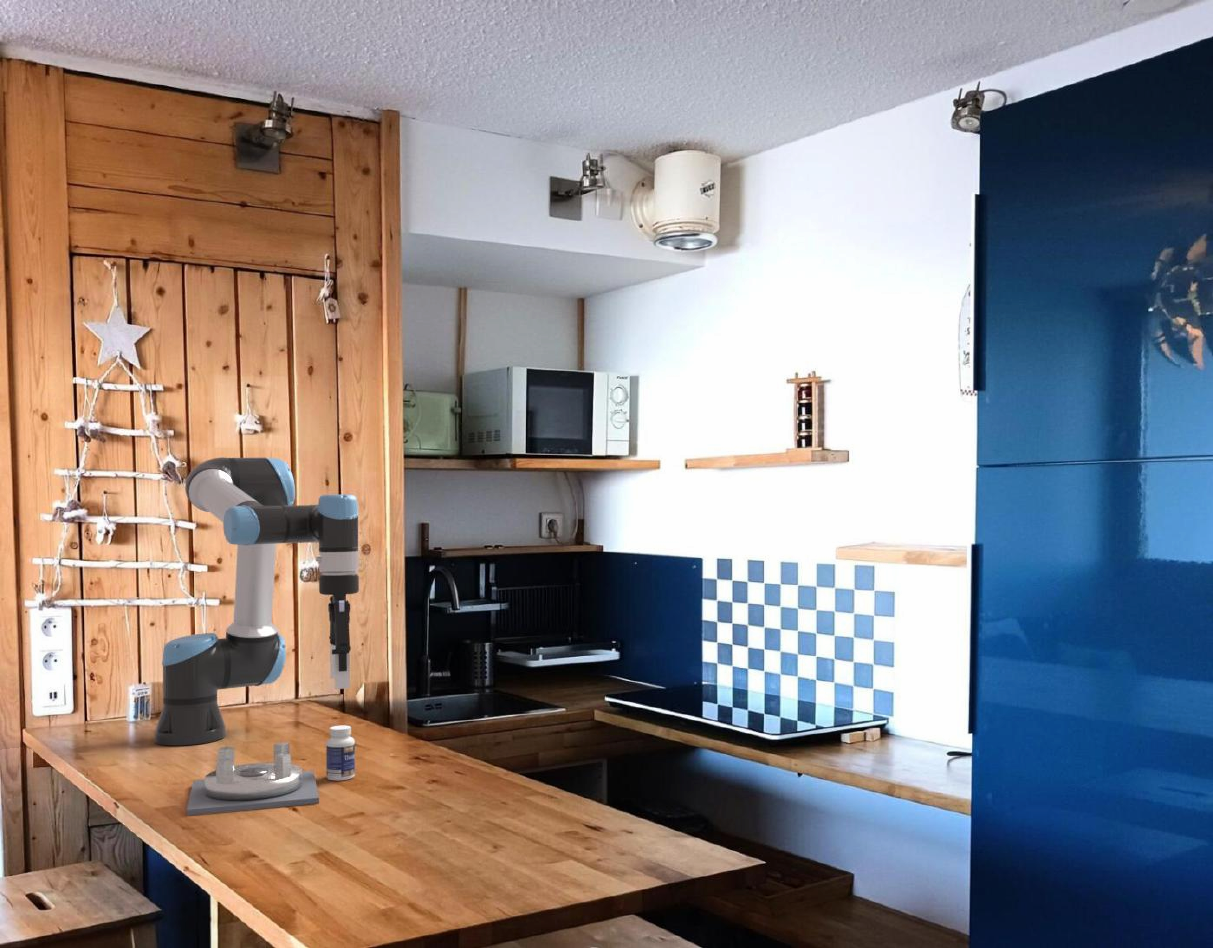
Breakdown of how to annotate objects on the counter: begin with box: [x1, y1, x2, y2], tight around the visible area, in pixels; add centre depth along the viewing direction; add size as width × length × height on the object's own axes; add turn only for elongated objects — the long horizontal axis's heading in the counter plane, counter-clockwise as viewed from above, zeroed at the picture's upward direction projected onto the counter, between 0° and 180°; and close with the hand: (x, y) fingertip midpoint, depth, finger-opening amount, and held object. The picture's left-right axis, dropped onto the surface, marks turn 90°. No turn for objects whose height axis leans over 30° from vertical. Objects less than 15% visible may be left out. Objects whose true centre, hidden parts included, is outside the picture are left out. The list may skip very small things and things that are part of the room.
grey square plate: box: [186, 770, 320, 817], centre depth 202 cm, size 21×22×1 cm
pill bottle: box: [325, 724, 356, 782], centre depth 213 cm, size 5×5×10 cm
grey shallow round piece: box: [204, 742, 303, 800], centre depth 202 cm, size 17×17×6 cm
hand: (339, 683), depth 213 cm, fingers open, 13 cm apart
